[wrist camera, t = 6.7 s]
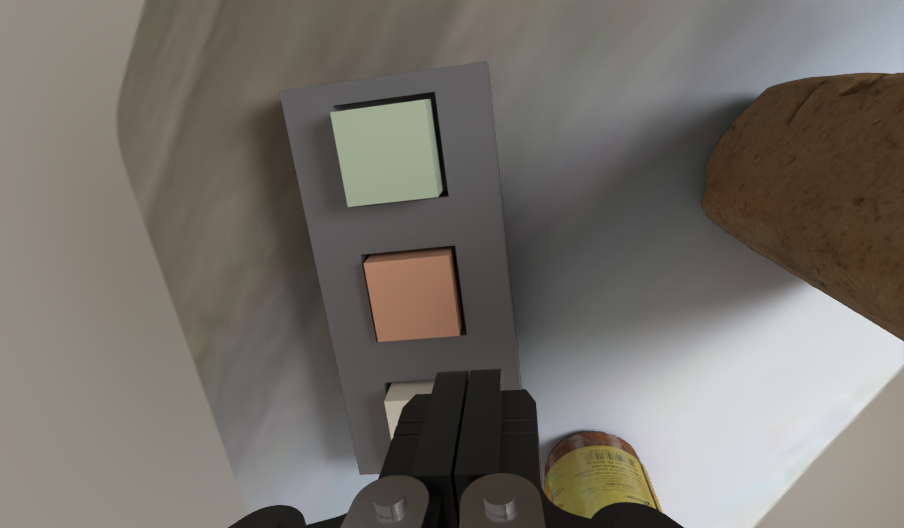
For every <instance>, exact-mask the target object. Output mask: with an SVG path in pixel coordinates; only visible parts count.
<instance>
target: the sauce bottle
mask: <svg viewBox="0 0 904 528" xmlns="http://www.w3.org/2000/svg"><path fill="white" fill-rule="evenodd" d="M544 493H545V495H546V496H547V498H548V499H549V500H550V501H551V502H552V503H554V504H555V505H556V506H558V507H559V508H561V509H562V510H565V511H567V512H569V513H572V514H575V515H578V516H582V517H586V518H590V519H591V518H592V516H593V515H594V514H595V513H596V512H597V511H598V510H600V509H601V508H603V507H605V506H607V505H610V504H613V503H619V502H635V503H640V504H644V505H647V506H650V507H653V508H655V509H657V510H659V511H660V512H662V509H661V507H660V504H659V502H658V499H657V496H656V494H655V491H654V489H653V486H652V484H651V481H650V479H649V476H648V473H647V471H646V469H645V467H644V466H643V464H642V463H641V462H640V460H639V457H638V456H637V454H636V452H635V451H634V449H633V448H632V447H631V445H630V444H628V443H627V442H625V441H624V440H622V439H621V438H619V437H616V436H614V435H609V434H606V433H604V432H594V431H590V432H580V433H578V434H575V435H572V436H569V437H568V438H567V439H565V440H563V441H561V442H560V443H559V444H558V445H557V446H556V447H555V448H554V449H553V450H552V451H551V453H550V455H549V458H548V461H547V463H546V466H545V482H544ZM662 513H663V512H662Z"/></svg>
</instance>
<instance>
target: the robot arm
mask: <svg viewBox="0 0 904 528" xmlns="http://www.w3.org/2000/svg"><path fill="white" fill-rule="evenodd" d="M397 423H398V425H396V428H395V431H394V434H393V438H392V440H391V443H390V446H389V449H388V452H387V455H386V458H385V461H384V464H383V467H382V470H381V473H380V476H379V478H378V480H376V481H374V482H372V483H370V484H368V485H367V486H366V487H364V488H363V489H362V490H361V491H360V492H359V493H358V494H357V495H356V497H355V499H354V500H353V502H352V504H351V506H350V509H349V511H348V513H346V514H344V515H341V516H338V517H335V518H332V519H328V520H324V521H320V522H317V523H313V524H309V525H306V523H305V519H304V517H303V515H302V513H301V512H300V511H299V510H297V509H296V508H294V507H291V506H286V505H275V506H269V507H265V508H262V509H259V510H257V511H255V512H252V513H251V514H249V515H247V516H245V517H244V518H242V519H241V520H239V521H238V522H236V523H235V524H233V525H231V526H230V527H228V528H684V527H682V526H681V525H679V524H678V523H677V522H675V521H674V520H672V519H671V518H669V517H668V516H667V515H665V514H664V513H662V512H660V511H659V510H657V509H655V508H653V507H650V506H647V505H644V504H640V503H635V502H619V503H613V504H610V505H607V506H605V507H603V508H601V509H600V510H598V511H597V512H596V513H595V514H594V515H593V516H592V518H591V519H590V518H586V517H582V516H578V515H575V514H572V513H569V512H567V511H565V510H562V509H561V508H559V507H558V506H556V505H555V504H554V503H552V502H551V501H550V500H549V499H548V498H547V496H546V495H545V493H544V492H543V489H542V477H541V461H540V448H539V436H538V423H537V411H536V402H535V401H534V399H533V398H532V397H531V396H530V394H529V393H528V392H527V390H526V389H524V390H504V380H503V372H502V369H484V370H471V371H470V373H469V371H468V370H466V371H445V372H437V374H436V378H435V382H434V385H433V389H432V393H431V394H415V395H414V396H413V398H412V399H411V400H410V401H409V402H408V403H407V404H406V405H405V406H404V407H403V408H402V411H401V414H400V417H399V420H398V422H397Z"/></svg>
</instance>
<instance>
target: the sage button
mask: <svg viewBox="0 0 904 528" xmlns="http://www.w3.org/2000/svg"><path fill="white" fill-rule="evenodd" d="M330 115H331V120H332V126H333V131H334V136H335V142H336V147H337V152H338V158H339V163H340V168H341V174H342V179H343V185H344V190H345V195H346V201H347V206H348V207H353V206H362V205H371V204H380V203H389V202H398V201H407V200H416V199H425V198H434V197H439V195H440V194H441V192H442V191H443V185H442V177H441V170H440V162H439V155H438V148H437V140H436V133H435V125H434V118H433V110H432V103H431V99H425V100H417V101H410V102H403V103H395V104H388V105H381V106H373V107H366V108H359V109H351V110H344V111H337V112H330Z"/></svg>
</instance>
